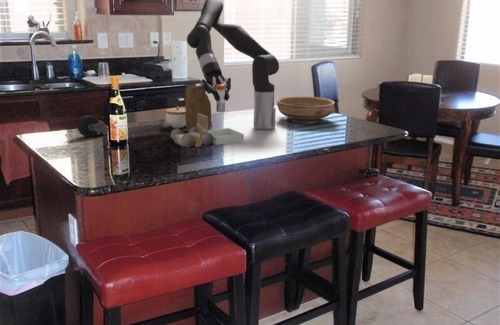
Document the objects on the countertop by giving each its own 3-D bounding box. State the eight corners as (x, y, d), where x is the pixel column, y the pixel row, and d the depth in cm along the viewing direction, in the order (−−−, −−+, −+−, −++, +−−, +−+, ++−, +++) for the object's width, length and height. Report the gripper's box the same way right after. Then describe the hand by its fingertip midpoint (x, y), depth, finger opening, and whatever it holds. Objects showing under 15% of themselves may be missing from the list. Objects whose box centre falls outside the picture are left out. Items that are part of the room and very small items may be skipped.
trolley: (199, 137, 217) (198, 112, 213) (213, 144, 205) (213, 117, 202) (170, 140, 210) (170, 114, 207) (183, 148, 199) (183, 120, 196)
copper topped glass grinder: (223, 109, 213) (223, 83, 210) (228, 111, 209) (228, 85, 206) (213, 110, 211) (212, 84, 208) (218, 112, 207) (218, 85, 204)
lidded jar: (191, 124, 242) (190, 104, 239) (187, 129, 232) (187, 108, 229) (168, 123, 242) (168, 104, 240) (164, 128, 232) (163, 108, 229)
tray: (228, 134, 222) (228, 127, 221) (243, 141, 211) (243, 134, 210) (201, 138, 216) (201, 131, 215) (215, 144, 205) (215, 137, 204)
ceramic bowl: (352, 124, 247) (354, 104, 244) (308, 131, 231) (309, 109, 228) (302, 112, 275) (302, 93, 273) (260, 117, 259) (260, 98, 256)
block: (190, 133, 224) (189, 87, 218) (184, 129, 230) (183, 85, 225) (212, 131, 229) (212, 86, 223) (206, 127, 235) (206, 84, 229)
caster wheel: (83, 141, 211) (116, 133, 220) (79, 119, 208) (112, 111, 217) (77, 139, 215) (110, 130, 224) (73, 117, 212) (106, 109, 221)
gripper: (222, 71, 220) (235, 104, 213) (192, 73, 213) (204, 106, 206) (227, 60, 214) (241, 93, 207) (197, 61, 207) (210, 95, 201)
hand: (222, 99), depth 207 cm, fingers closed on copper topped glass grinder, 3 cm apart
